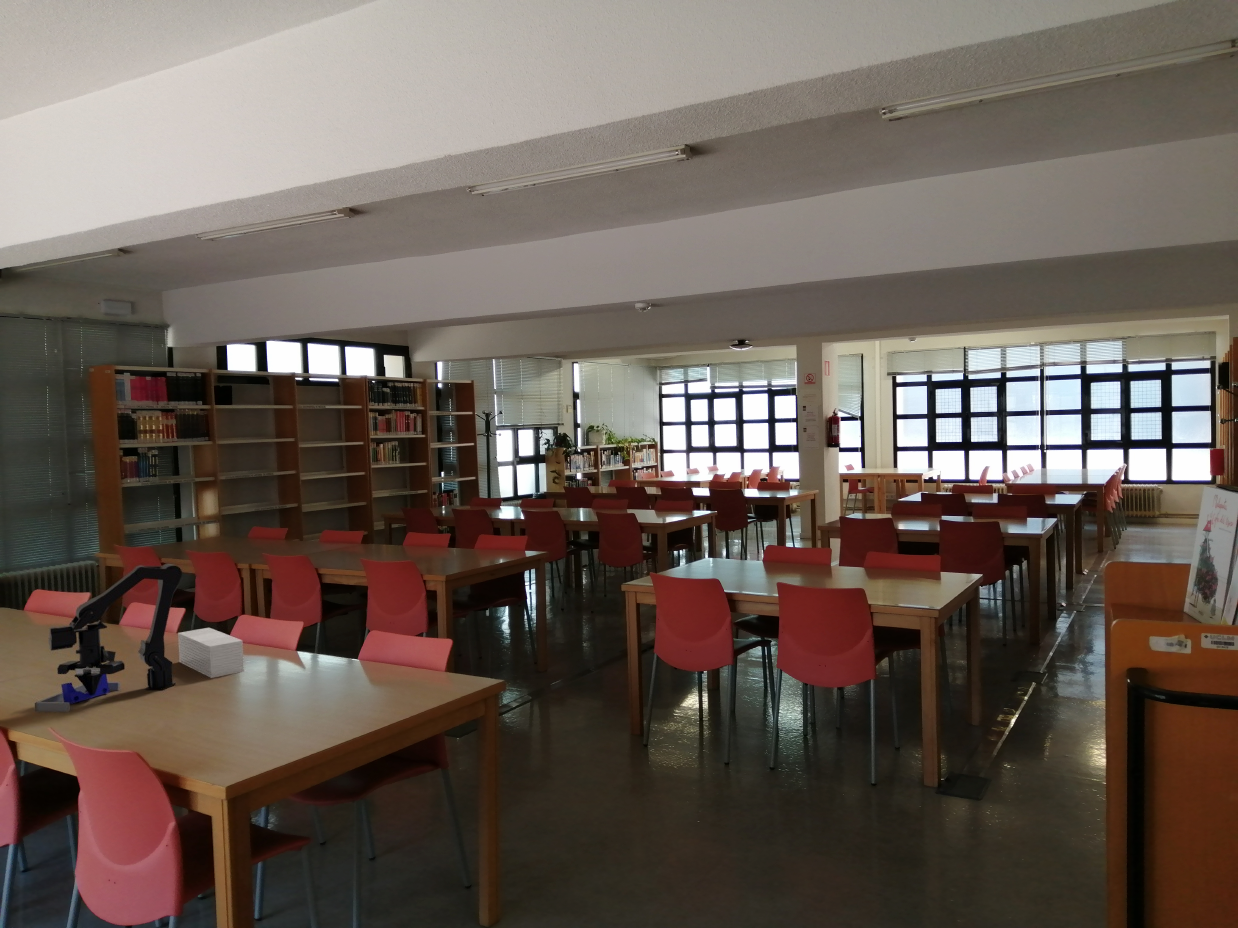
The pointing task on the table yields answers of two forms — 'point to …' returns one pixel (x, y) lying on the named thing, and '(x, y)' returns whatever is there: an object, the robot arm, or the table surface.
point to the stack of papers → (211, 652)
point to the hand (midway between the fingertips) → (92, 695)
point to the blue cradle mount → (76, 696)
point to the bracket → (56, 701)
